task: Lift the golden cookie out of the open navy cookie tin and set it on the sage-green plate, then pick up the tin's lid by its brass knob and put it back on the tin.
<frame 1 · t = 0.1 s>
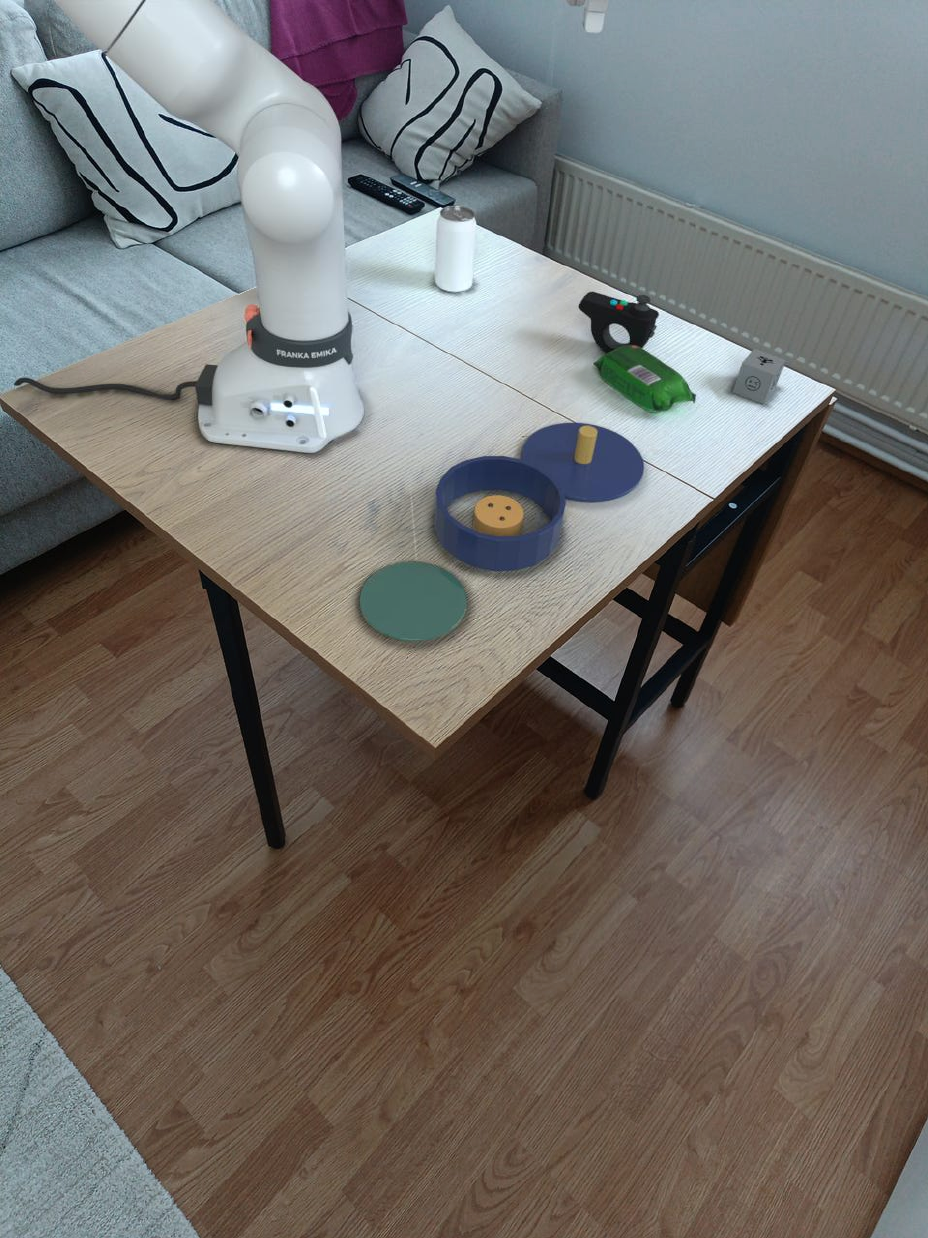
hand: (582, 17, 90), 48 cm above the table, tool pointing down, fingers open, 8 cm apart
cookie tin: (496, 530, 108), on the table
tin lid: (582, 462, 117), point 1 cm above the table
plate: (413, 603, 99), on the table
snack package: (639, 395, 130), on the table
dice cube: (753, 391, 132), on the table
can: (453, 285, 149), on the table
cookie: (497, 527, 107), resting on cookie tin
controller: (609, 352, 138), on the table
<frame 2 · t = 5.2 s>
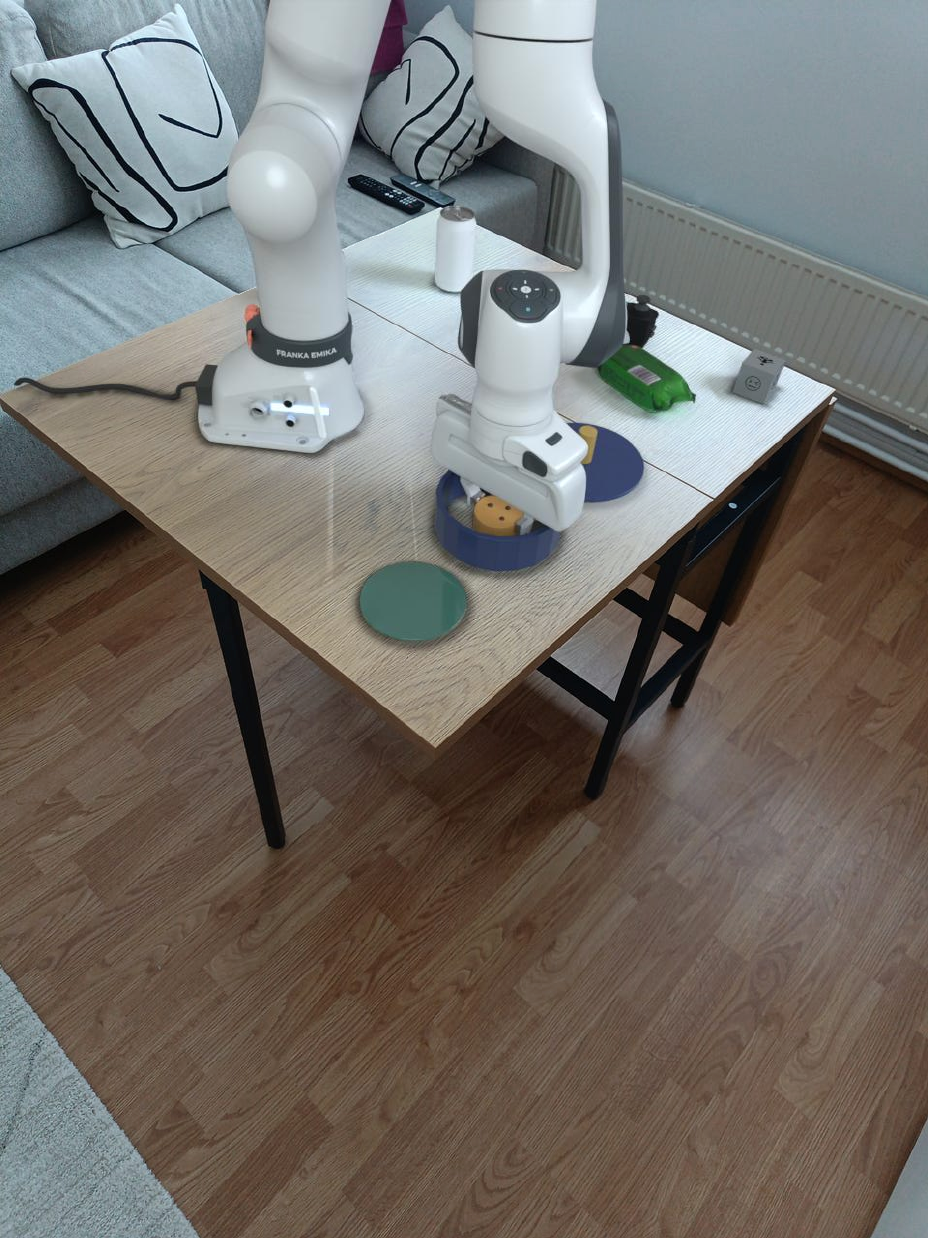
hand: (498, 519, 107), 2 cm above the table, tool pointing down, fingers closed on cookie, 6 cm apart
cookie: (496, 527, 107), point 1 cm above the table, touching cookie tin, gripper
everything else where it was.
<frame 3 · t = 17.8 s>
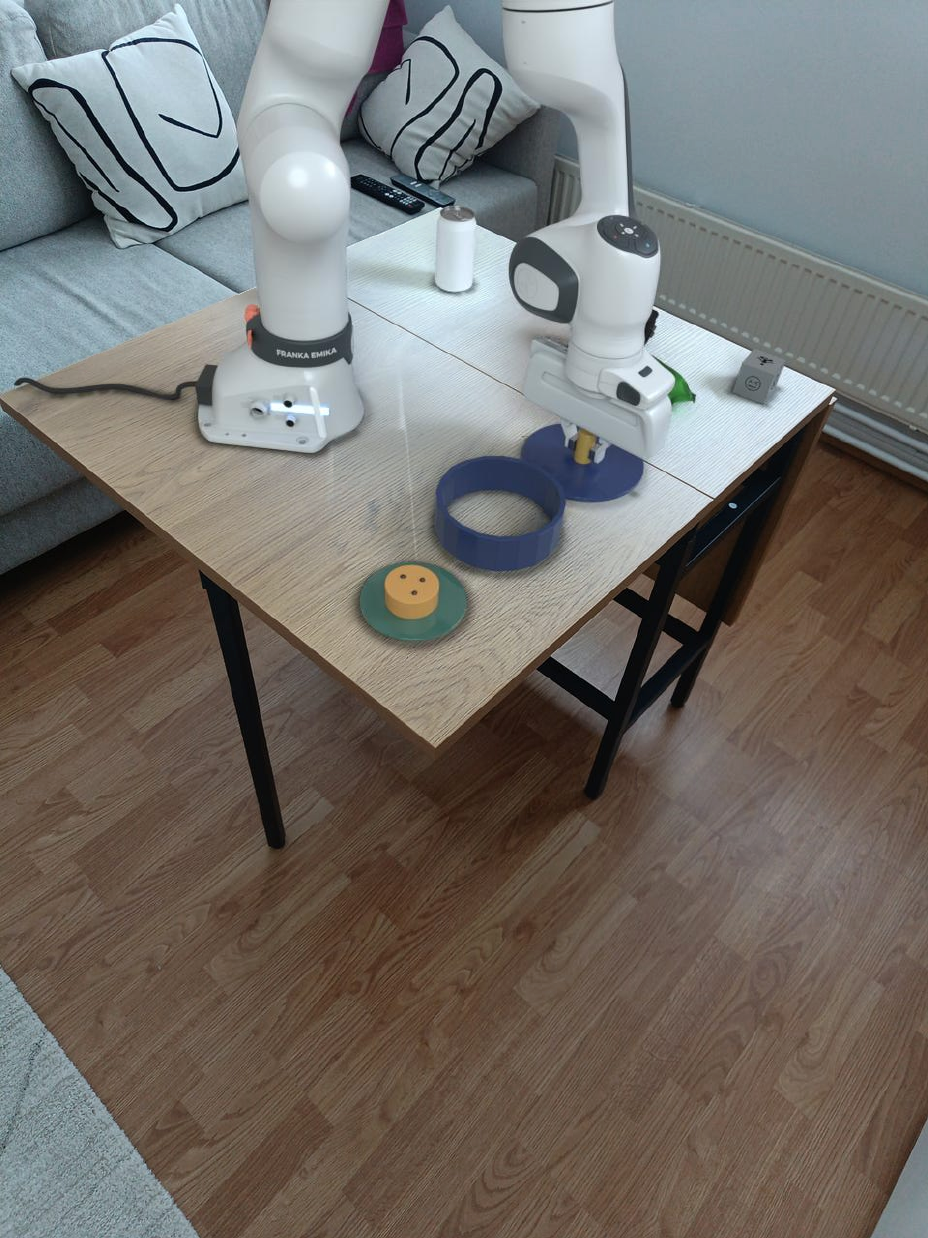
hand: (583, 453, 116), 2 cm above the table, tool pointing down, fingers closed on tin lid, 2 cm apart
tin lid: (581, 462, 117), point 1 cm above the table, touching gripper
cookie: (411, 599, 98), point 1 cm above the table, touching plate
everything else where it was.
when the fingers open (7 cm above the table, at t = 23.3 s): tin lid stays where it is, resting on cookie tin.
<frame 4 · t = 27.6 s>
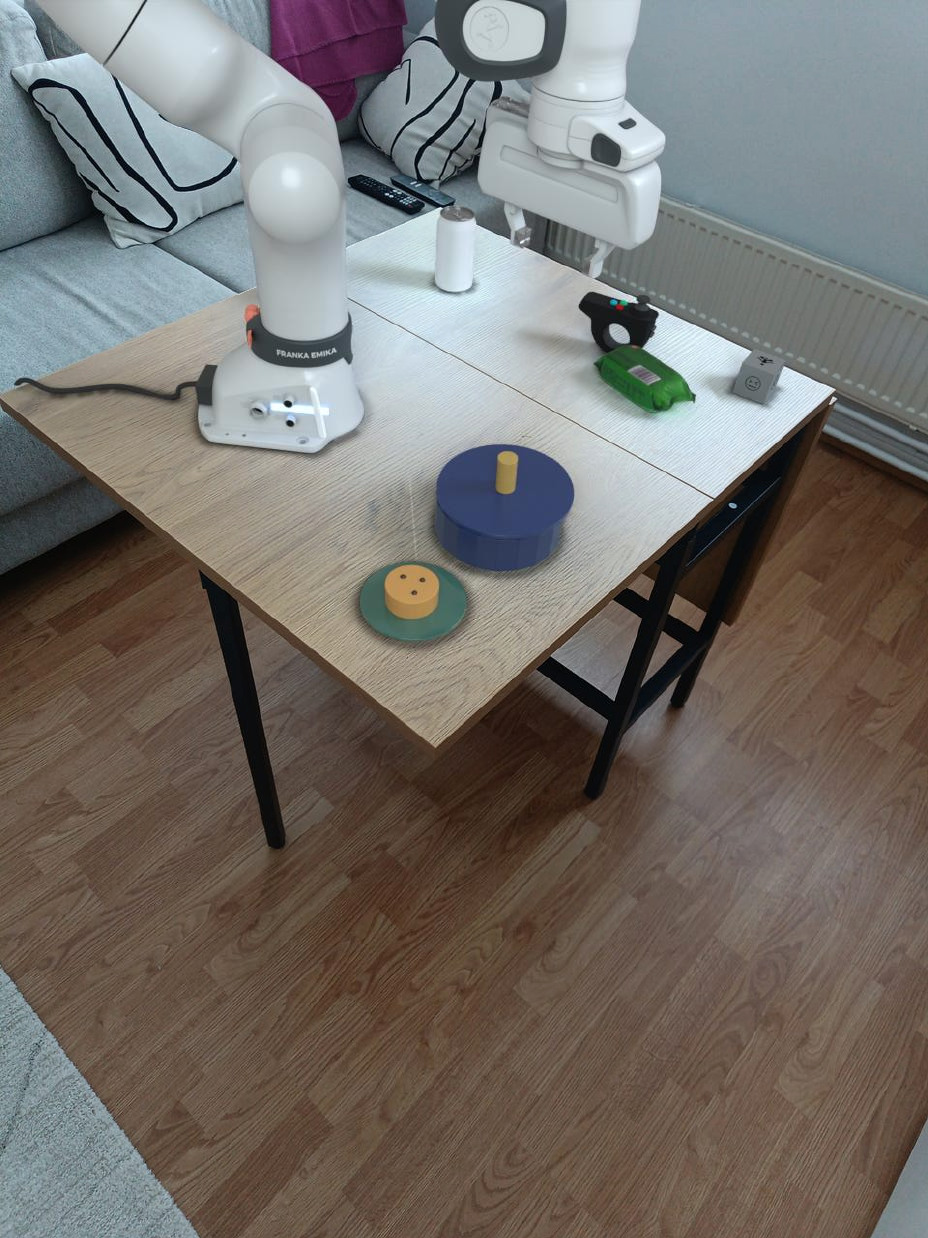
hand: (554, 259, 94), 29 cm above the table, tool pointing down, fingers open, 8 cm apart
tin lid: (505, 491, 104), point 6 cm above the table, touching cookie tin
everything else where it was.
at the end: cookie inside the target area on the plate (0.2 cm from its centre), point 0.8 cm above the plate's base; tin lid 0.6 cm off-centre on the cookie tin, point 5.8 cm above the cookie tin's base; tin lid tilted 2° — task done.
